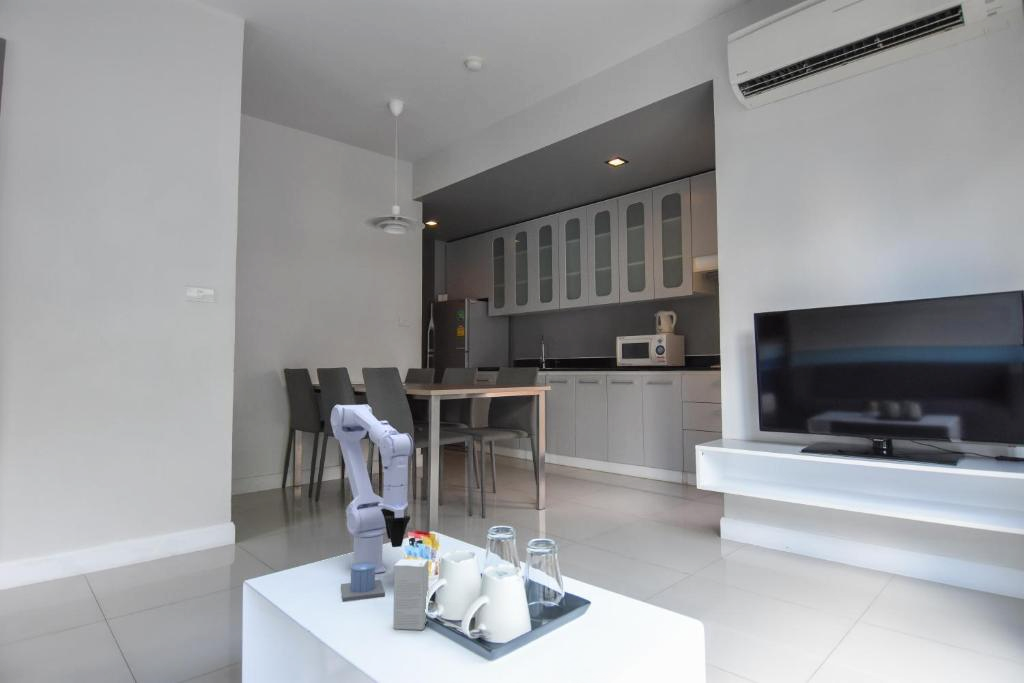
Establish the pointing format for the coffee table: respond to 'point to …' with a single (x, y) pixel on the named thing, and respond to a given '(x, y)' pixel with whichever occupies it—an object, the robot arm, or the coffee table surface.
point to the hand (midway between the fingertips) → (394, 542)
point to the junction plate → (350, 595)
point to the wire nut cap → (362, 577)
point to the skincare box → (410, 594)
